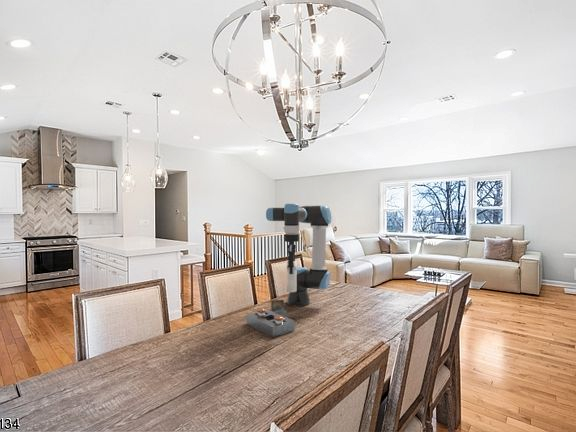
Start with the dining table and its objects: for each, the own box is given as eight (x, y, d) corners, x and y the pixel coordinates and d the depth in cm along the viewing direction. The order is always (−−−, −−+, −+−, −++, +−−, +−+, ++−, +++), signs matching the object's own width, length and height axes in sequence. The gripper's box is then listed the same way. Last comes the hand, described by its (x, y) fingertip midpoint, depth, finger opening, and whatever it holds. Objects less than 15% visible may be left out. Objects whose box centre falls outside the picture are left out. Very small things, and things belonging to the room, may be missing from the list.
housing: (267, 318, 183) (267, 309, 183) (294, 330, 165) (294, 320, 164) (246, 323, 174) (246, 314, 174) (272, 337, 156) (272, 327, 156)
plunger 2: (280, 327, 167) (280, 314, 167) (286, 330, 163) (286, 317, 163) (272, 329, 164) (272, 316, 163) (278, 332, 160) (278, 319, 159)
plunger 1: (262, 319, 179) (262, 307, 179) (268, 321, 175) (268, 309, 175) (254, 321, 176) (254, 309, 176) (260, 323, 172) (260, 311, 172)
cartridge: (287, 289, 167) (287, 259, 167) (297, 289, 167) (297, 259, 166) (286, 292, 162) (286, 260, 162) (296, 292, 162) (296, 260, 161)
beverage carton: (273, 320, 180) (273, 309, 180) (271, 310, 199) (271, 299, 199) (287, 320, 181) (287, 308, 180) (283, 309, 200) (283, 299, 200)
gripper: (286, 232, 173) (286, 275, 174) (282, 235, 155) (282, 282, 156) (300, 232, 172) (300, 275, 173) (297, 235, 154) (297, 283, 155)
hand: (291, 278), depth 164 cm, fingers closed on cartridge, 5 cm apart
